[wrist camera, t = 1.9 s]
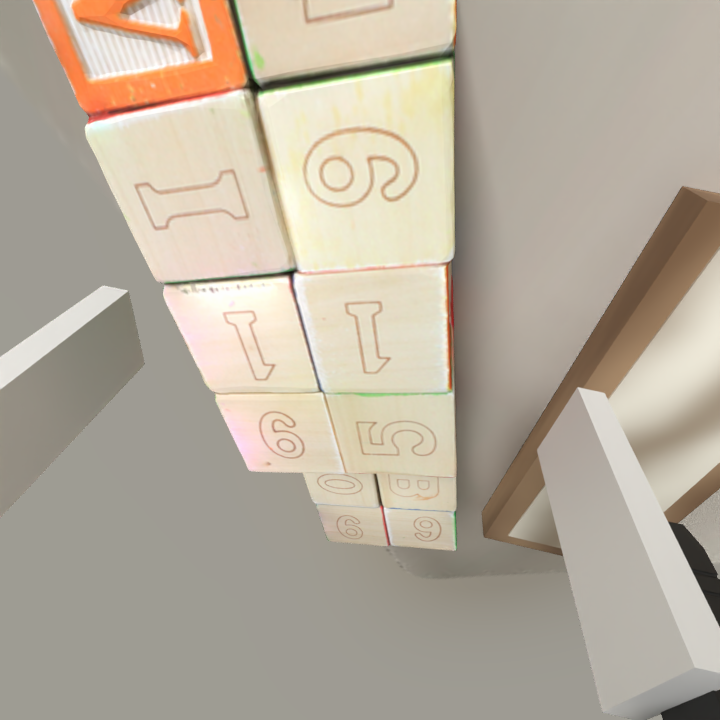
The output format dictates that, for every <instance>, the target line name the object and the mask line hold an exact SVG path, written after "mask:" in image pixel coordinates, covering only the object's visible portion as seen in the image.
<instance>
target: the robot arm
mask: <svg viewBox="0 0 720 720" xmlns="http://www.w3.org/2000/svg"><path fill="white" fill-rule="evenodd" d="M144 364H145V363H144V358H143V354H142V349H141V345H140V340H139V336H138V331H137V327H136V322H135V318H134V314H133V309H132V304H131V299H130V295H129V291H127V290H122V289H118V288H113V287H108V286H104V285H103V286H102V287H100V288H99V289H97V290H96V291H94V292H93V293H92V294H90V295H89V296H87V297H86V298H84V299H83V300H81V301H80V302H79V303H77V304H76V305H74V306H73V307H72V308H70V309H69V310H67V311H66V312H64V313H63V314H62V315H60V316H58V317H57V318H56V319H54V320H53V321H51V322H50V323H49V324H47V325H46V326H44V327H43V328H41V329H40V330H38V331H37V332H35V333H34V334H33V335H31V336H30V337H28V338H27V339H25V340H24V341H23V342H21V343H20V344H18V345H17V346H15V347H14V348H13V349H11V350H10V351H8V352H7V353H5V354H4V355H2V356H1V357H0V518H1V517H2V515H3V514H4V513H5V512H6V511H7V510H8V509H9V508H10V507H11V506H12V505H13V504H14V502H16V501H17V499H18V498H19V497H20V496H21V495H22V494H23V493H24V492H25V491H26V490H27V489H28V488H29V487H30V486H31V484H33V483H34V481H35V480H36V479H37V478H38V477H39V476H40V475H41V474H42V473H43V472H44V471H45V470H46V469H47V467H49V465H50V464H51V463H52V462H53V461H54V460H55V459H56V458H57V457H58V456H59V455H60V454H61V452H63V451H64V449H65V448H66V447H67V446H68V445H69V444H70V443H71V442H72V441H73V440H74V439H75V438H76V437H77V436H78V435H79V433H80V432H81V431H82V430H83V429H84V428H85V427H86V426H87V425H88V424H89V423H90V422H91V421H92V420H93V419H94V418H95V416H97V414H98V413H99V412H100V411H101V410H102V409H103V408H104V407H105V406H106V405H107V404H108V403H109V402H110V401H111V400H112V399H113V397H114V396H115V395H116V394H117V393H118V392H119V391H120V390H121V389H122V388H123V387H124V386H125V385H126V383H127V382H128V381H129V380H130V379H131V378H132V377H133V376H134V375H135V374H136V373H137V372H138V371H139V370H140V369H141V368H142V367H143V365H144ZM537 453H538V457H539V461H540V465H541V469H542V473H543V477H544V481H545V485H546V489H547V493H548V497H549V501H550V505H551V509H552V513H553V517H554V521H555V525H556V529H557V533H558V537H559V541H560V545H561V549H562V553H563V557H564V561H565V565H566V569H567V573H568V577H569V581H570V585H571V589H572V593H573V596H574V600H575V605H576V609H577V612H578V617H579V621H580V624H581V629H582V633H583V637H584V641H585V645H586V649H587V653H588V657H589V661H590V665H591V669H592V673H593V676H594V681H595V684H596V689H597V693H598V697H599V701H600V705H601V709H602V712H603V713H607V714H611V715H615V716H619V717H624V718H628V719H632V720H647V719H650V718H652V717H654V716H657V715H659V714H661V715H662V718H663V720H720V579H718V578H717V575H718V574H717V572H716V570H715V568H714V566H713V565H712V563H711V561H710V559H709V557H708V555H707V553H706V552H705V550H704V548H703V547H702V546H701V545H700V544H699V542H698V541H697V540H696V539H695V538H694V537H693V536H692V534H691V533H690V532H689V531H688V530H687V529H686V528H685V526H684V525H682V524H677V523H673V522H668V521H667V519H666V517H665V515H664V513H663V511H662V509H661V507H660V505H659V503H658V501H657V499H656V497H655V495H654V493H653V490H652V488H651V486H650V484H649V482H648V480H647V478H646V476H645V474H644V472H643V470H642V468H641V466H640V464H639V462H638V460H637V458H636V456H635V454H634V452H633V450H632V448H631V446H630V444H629V442H628V440H627V438H626V435H625V433H624V431H623V429H622V427H621V425H620V423H619V421H618V419H617V417H616V415H615V413H614V411H613V409H612V407H611V405H610V403H609V401H608V399H607V397H606V395H605V393H603V392H598V391H593V390H589V389H584V388H579V387H577V389H576V390H575V392H574V393H573V395H572V396H571V398H570V400H569V401H568V403H567V404H566V406H565V407H564V409H563V410H562V412H561V414H560V415H559V417H558V418H557V420H556V421H555V423H554V424H553V426H552V427H551V429H550V431H549V432H548V434H547V435H546V437H545V438H544V440H543V441H542V443H541V444H540V446H539V448H538V449H537Z"/></svg>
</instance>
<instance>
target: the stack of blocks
mask: <svg viewBox="0 0 720 720" xmlns="http://www.w3.org/2000/svg"><path fill="white" fill-rule="evenodd" d="M32 1H33V3H34V5H35V8H36V10H37V12H38V15H39V17H40V19H41V22H42V24H43V26H44V29H45V31H46V34H47V36H48V38H49V41H50V42H51V44H52V46H53V48H54V50H55V52H56V54H57V56H58V58H59V60H60V62H61V64H62V67H63V69H64V71H65V73H66V76H67V78H68V80H69V82H70V85H71V87H72V89H73V91H74V93H75V96H76V98H77V100H78V102H79V105H80V106H81V108H82V109H83V110H84V111H85V112H86V113H87V115H88V116H89V121H88V123H87V125H86V127H85V133H86V138H87V140H88V142H89V144H90V146H91V148H92V150H93V152H94V154H95V156H96V157H97V159H98V162H99V164H100V166H101V169H102V171H103V173H104V175H105V178H106V180H107V182H108V185H109V186H110V188H111V190H112V192H113V194H114V196H115V198H116V200H117V202H118V204H119V206H120V208H121V210H122V213H123V215H124V217H125V219H126V221H127V223H128V225H129V227H130V229H131V232H132V234H133V236H134V238H135V240H136V242H137V244H138V246H139V248H140V250H141V252H142V253H143V256H144V258H145V260H146V262H147V264H148V266H149V268H150V270H151V272H152V274H153V275H154V277H155V279H156V280H157V282H160V283H164V284H165V286H164V288H163V298H164V300H165V302H166V304H167V305H168V308H169V310H170V313H171V315H172V317H173V319H174V321H175V323H176V325H177V327H178V328H179V330H180V332H181V334H182V337H183V339H184V341H185V343H186V346H187V348H188V349H189V351H190V353H191V355H192V357H193V359H194V361H195V363H196V365H197V367H198V369H199V371H200V373H201V376H202V378H203V380H204V382H205V384H206V385H207V387H208V388H209V389H210V390H212V391H213V392H214V393H215V401H216V403H217V406H218V408H219V410H220V412H221V414H222V416H223V418H224V420H225V422H226V424H227V426H228V428H229V430H230V432H231V434H232V436H233V439H234V441H235V443H236V445H237V447H238V449H239V451H240V453H241V455H242V457H243V459H244V461H245V463H246V465H247V467H248V469H249V470H250V471H259V472H286V473H303V475H304V478H305V481H306V484H307V487H308V489H309V492H310V495H311V498H312V501H313V502H314V503H315V504H316V506H317V511H318V514H319V517H320V519H321V522H322V526H323V529H324V531H325V535H326V538H327V540H328V541H331V542H341V543H354V544H365V545H375V546H389V545H393V546H402V547H413V548H426V549H438V550H451V551H456V549H457V538H456V509H457V494H456V475H457V455H456V398H455V374H454V316H453V280H452V267H451V261H452V259H453V258H454V256H455V183H454V87H455V54H454V47H455V43H456V0H32Z"/></svg>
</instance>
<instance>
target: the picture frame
mask: <svg viewBox="0 0 720 720" xmlns="http://www.w3.org/2000/svg"><path fill="white" fill-rule="evenodd" d="M577 387H579V388H584V389H589V390H593V391H598V392H603V393H605V395H606V397H607V399H608V401H609V403H610V405H611V407H612V409H613V411H614V413H615V415H616V417H617V419H618V421H619V423H620V425H621V427H622V429H623V431H624V433H625V435H626V438H627V440H628V442H629V444H630V446H631V448H632V450H633V452H634V454H635V456H636V458H637V460H638V462H639V464H640V466H641V468H642V470H643V472H644V474H645V476H646V478H647V480H648V482H649V484H650V486H651V488H652V490H653V493H654V495H655V497H656V499H657V501H658V503H659V505H660V507H661V509H662V511H663V513H664V515H665V517H666V519H667V521H668V522H673V523H679V522H680V521H681V520H682V519H683V518H685V517H686V516H687V515H688V514H689V513H691V512H692V511H693V510H694V509H695V508H697V507H698V506H699V505H700V504H701V503H703V502H704V501H705V500H706V499H707V498H709V497H710V496H711V495H712V494H713V493H715V492H716V491H717V490H718V489H719V488H720V194H719V193H714V192H709V191H704V190H699V189H694V188H689V187H684V186H682V188H681V190H680V191H679V193H678V194H677V196H676V198H675V199H674V201H673V203H672V204H671V206H670V207H669V209H668V211H667V212H666V214H665V216H664V217H663V219H662V220H661V222H660V224H659V225H658V227H657V229H656V230H655V232H654V233H653V235H652V237H651V238H650V240H649V242H648V243H647V245H646V246H645V248H644V250H643V251H642V253H641V255H640V256H639V258H638V259H637V261H636V263H635V264H634V266H633V268H632V269H631V271H630V272H629V274H628V276H627V277H626V279H625V281H624V282H623V284H622V285H621V287H620V289H619V290H618V292H617V294H616V295H615V297H614V298H613V300H612V302H611V303H610V305H609V307H608V308H607V310H606V311H605V313H604V315H603V316H602V318H601V320H600V321H599V323H598V324H597V326H596V328H595V329H594V331H593V333H592V334H591V336H590V337H589V339H588V341H587V342H586V344H585V346H584V347H583V349H582V350H581V352H580V354H579V355H578V357H577V359H576V360H575V362H574V363H573V365H572V367H571V368H570V370H569V372H568V373H567V375H566V376H565V378H564V380H563V381H562V383H561V385H560V386H559V388H558V389H557V391H556V393H555V394H554V396H553V398H552V399H551V401H550V402H549V404H548V406H547V407H546V409H545V411H544V412H543V414H542V415H541V417H540V419H539V420H538V422H537V424H536V425H535V427H534V428H533V430H532V432H531V433H530V435H529V437H528V438H527V440H526V441H525V443H524V445H523V446H522V448H521V450H520V451H519V453H518V454H517V456H516V458H515V459H514V461H513V463H512V464H511V466H510V467H509V469H508V471H507V472H506V474H505V476H504V477H503V479H502V480H501V482H500V484H499V485H498V487H497V489H496V490H495V492H494V493H493V495H492V497H491V498H490V500H489V502H488V503H487V505H486V506H485V508H484V510H483V511H482V522H483V534H484V537H485V538H489V539H494V540H498V541H502V542H506V543H511V544H515V545H519V546H523V547H527V548H532V549H536V550H540V551H544V552H549V553H553V554H557V555H561V556H563V553H562V549H561V545H560V541H559V537H558V533H557V529H556V525H555V521H554V517H553V513H552V509H551V505H550V501H549V497H548V493H547V489H546V485H545V481H544V477H543V473H542V469H541V465H540V461H539V457H538V453H537V449H538V448H539V446H540V444H541V443H542V441H543V440H544V438H545V437H546V435H547V434H548V432H549V431H550V429H551V427H552V426H553V424H554V423H555V421H556V420H557V418H558V417H559V415H560V414H561V412H562V410H563V409H564V407H565V406H566V404H567V403H568V401H569V400H570V398H571V396H572V395H573V393H574V392H575V390H576V389H577Z"/></svg>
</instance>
